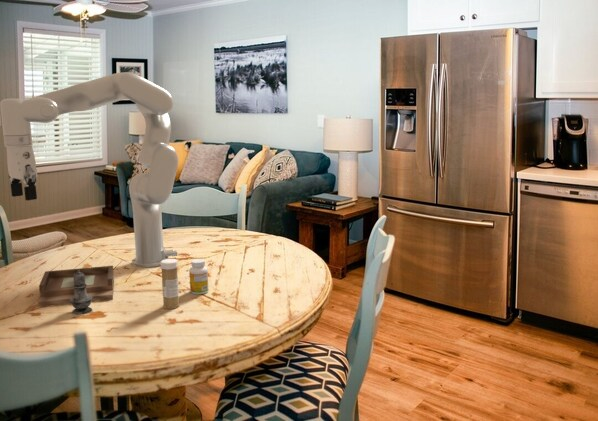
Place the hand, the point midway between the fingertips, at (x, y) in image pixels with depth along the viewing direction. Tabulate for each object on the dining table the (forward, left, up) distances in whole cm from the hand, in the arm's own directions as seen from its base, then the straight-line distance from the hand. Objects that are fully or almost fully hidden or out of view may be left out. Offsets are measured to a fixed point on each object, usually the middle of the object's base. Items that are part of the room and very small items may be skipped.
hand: (24, 197), depth 179 cm
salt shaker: (-16, +27, -28) cm, 42 cm away
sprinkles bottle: (-40, +31, -28) cm, 58 cm away
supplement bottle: (-49, +21, -28) cm, 60 cm away
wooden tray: (-14, +11, -28) cm, 33 cm away
